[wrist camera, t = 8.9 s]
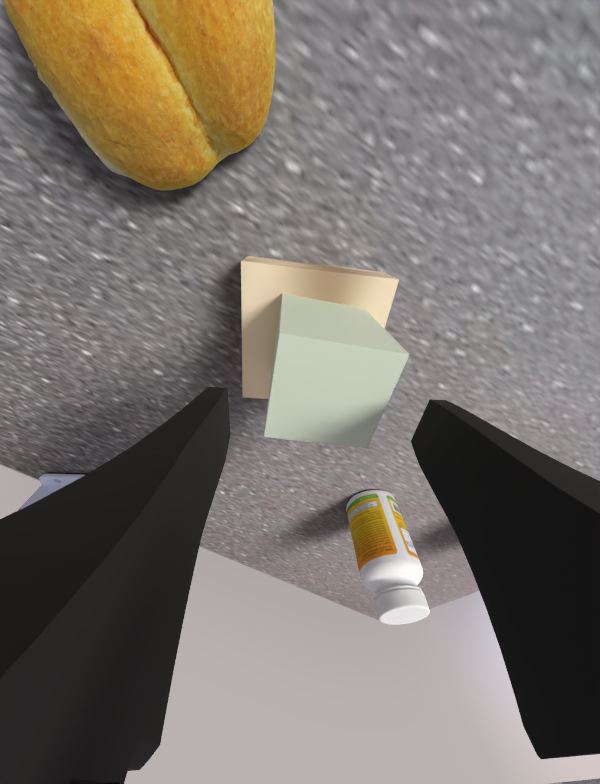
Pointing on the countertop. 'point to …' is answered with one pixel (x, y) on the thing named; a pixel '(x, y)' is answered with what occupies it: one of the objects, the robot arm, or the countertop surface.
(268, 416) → the sage block
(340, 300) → the beech block
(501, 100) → the countertop surface
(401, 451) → the countertop surface
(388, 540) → the supplement bottle
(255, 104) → the bread roll
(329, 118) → the countertop surface
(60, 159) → the countertop surface
